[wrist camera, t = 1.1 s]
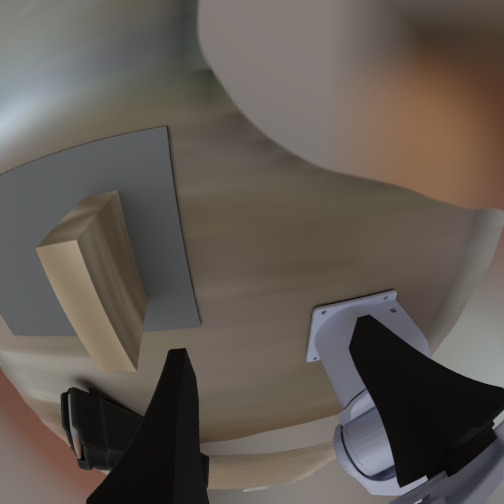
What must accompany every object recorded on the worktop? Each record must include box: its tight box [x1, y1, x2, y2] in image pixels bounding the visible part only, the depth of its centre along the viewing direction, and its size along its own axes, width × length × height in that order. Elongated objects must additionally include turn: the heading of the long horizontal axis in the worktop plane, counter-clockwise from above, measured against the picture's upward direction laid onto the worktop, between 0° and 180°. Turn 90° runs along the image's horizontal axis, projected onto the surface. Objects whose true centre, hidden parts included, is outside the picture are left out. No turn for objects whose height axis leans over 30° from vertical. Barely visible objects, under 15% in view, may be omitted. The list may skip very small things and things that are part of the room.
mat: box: [0, 126, 201, 336], centre depth 17 cm, size 22×16×1 cm
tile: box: [36, 190, 148, 372], centre depth 15 cm, size 2×9×7 cm, turn 3°
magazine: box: [61, 387, 209, 489], centre depth 28 cm, size 17×3×30 cm
